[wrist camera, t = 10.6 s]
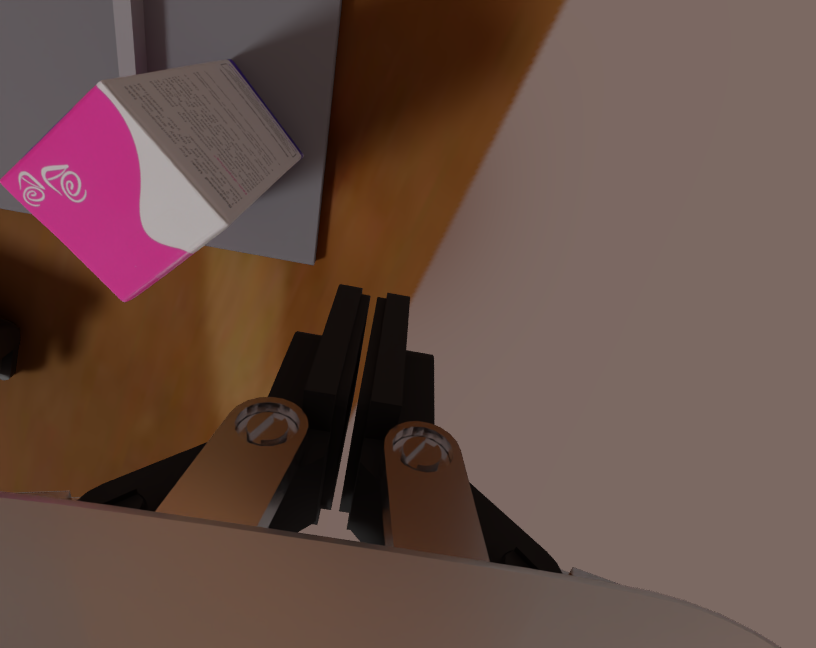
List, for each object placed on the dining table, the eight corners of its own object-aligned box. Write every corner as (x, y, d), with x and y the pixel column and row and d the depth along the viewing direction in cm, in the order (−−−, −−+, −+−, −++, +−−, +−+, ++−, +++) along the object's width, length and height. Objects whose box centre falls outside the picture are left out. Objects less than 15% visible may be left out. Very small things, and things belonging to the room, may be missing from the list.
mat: (315, 261, 31) (309, 273, 30) (-11, 201, 30) (-35, 211, 29) (343, -10, 24) (337, -12, 23) (-81, -102, 23) (-117, -111, 22)
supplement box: (228, 52, 25) (101, 73, 15) (307, 155, 28) (240, 231, 18) (148, 123, 27) (-11, 183, 17) (229, 214, 30) (128, 313, 20)
